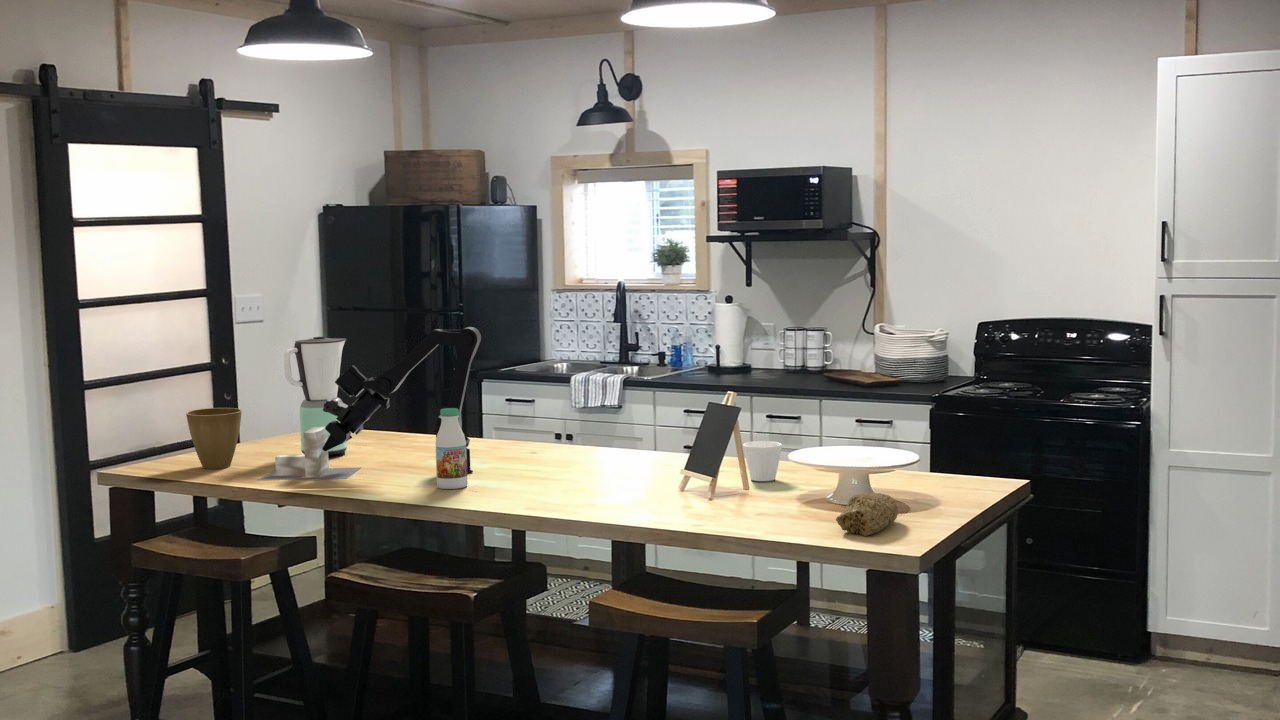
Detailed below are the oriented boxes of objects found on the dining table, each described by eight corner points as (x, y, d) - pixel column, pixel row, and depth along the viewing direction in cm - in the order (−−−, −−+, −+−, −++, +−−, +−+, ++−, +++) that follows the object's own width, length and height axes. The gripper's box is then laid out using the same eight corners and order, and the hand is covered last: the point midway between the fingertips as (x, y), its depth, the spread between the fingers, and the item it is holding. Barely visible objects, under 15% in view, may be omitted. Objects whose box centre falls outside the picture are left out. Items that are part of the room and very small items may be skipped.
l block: (329, 470, 346) (326, 426, 345) (318, 477, 336) (316, 432, 335) (283, 470, 347) (281, 427, 346) (272, 477, 337) (269, 433, 336)
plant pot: (180, 472, 351) (177, 415, 349) (202, 462, 366) (199, 407, 364) (232, 471, 350) (229, 414, 348) (252, 461, 365) (249, 407, 363)
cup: (785, 477, 323) (785, 441, 322) (779, 484, 313) (778, 447, 313) (747, 475, 326) (746, 440, 325) (739, 483, 316) (739, 446, 315)
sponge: (882, 545, 256) (919, 507, 272) (871, 509, 255) (909, 473, 270) (825, 548, 264) (864, 511, 280) (815, 514, 263) (855, 478, 278)
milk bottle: (431, 487, 321) (428, 409, 319) (456, 482, 326) (453, 405, 324) (447, 491, 315) (444, 411, 313) (473, 486, 320) (470, 408, 318)
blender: (341, 449, 384) (336, 334, 380) (360, 454, 373) (355, 336, 370) (281, 456, 372) (275, 338, 369) (298, 462, 362) (292, 340, 358)
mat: (362, 468, 349) (362, 467, 349) (346, 480, 333) (346, 478, 333) (276, 470, 350) (276, 469, 350) (256, 481, 334) (256, 480, 334)
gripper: (349, 384, 348) (311, 424, 350) (331, 392, 330) (291, 434, 331) (379, 412, 349) (341, 452, 350) (362, 421, 330) (322, 464, 332)
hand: (323, 450), depth 341 cm, fingers closed
